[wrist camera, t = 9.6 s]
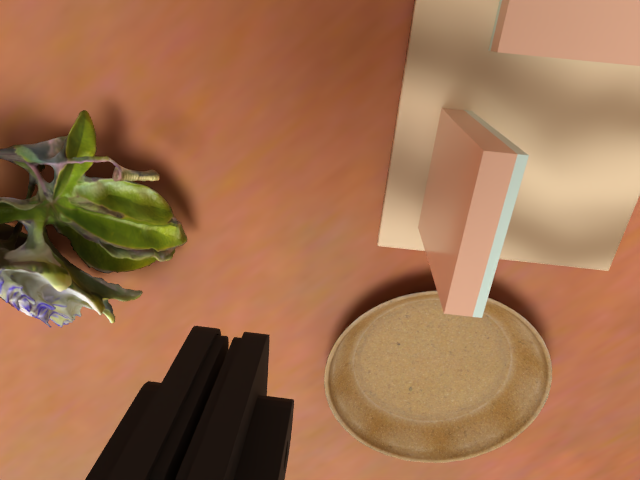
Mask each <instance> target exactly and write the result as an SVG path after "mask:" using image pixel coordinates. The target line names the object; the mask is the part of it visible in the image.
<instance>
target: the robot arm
mask: <svg viewBox="0 0 640 480" xmlns="http://www.w3.org/2000/svg"><path fill="white" fill-rule="evenodd" d="M228 343H229V342H228V337H227V336H221V332H220V329H217V328H209V327H201V326H194V327H193V328H192V330H191V332H190V333H189V335H188V337H187V339H186V340H185V342H184V344H183V346H182V348H181V349H180V351H179V353H178V355H177V356H176V358H175V360H174V362H173V364H172V365H171V367H170V369H169V371H168V372H167V374H166V376H165V378H164V379H163V381H162V383H158V382H150V381H148V382H147V383H145V384H144V385H143V387H142V388H141V389H140V391H139V393H138V394H137V396H136V397H135V399H134V401H133V402H132V404H131V406H130V407H129V409H128V411H127V412H126V414H125V415H124V417H123V419H122V420H121V422H120V424H119V425H118V427H117V429H116V430H115V432H114V433H113V435H112V437H111V438H110V440H109V442H108V443H107V445H106V446H105V448H104V450H103V451H102V453H101V455H100V456H99V458H98V460H97V461H96V463H95V464H94V466H93V468H92V469H91V471H90V473H89V474H88V476H87V478H86V479H85V480H284V479H285V473H286V467H287V461H288V455H289V447H290V440H291V431H292V421H293V409H294V400H293V399H286V398H278V397H270V396H267V378H268V358H269V335H267V334H259V333H250V332H244V334H243V336H242V338H237V337H234V338H233V340H232V343H231V345H230V348H229V350H228Z"/></svg>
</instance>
